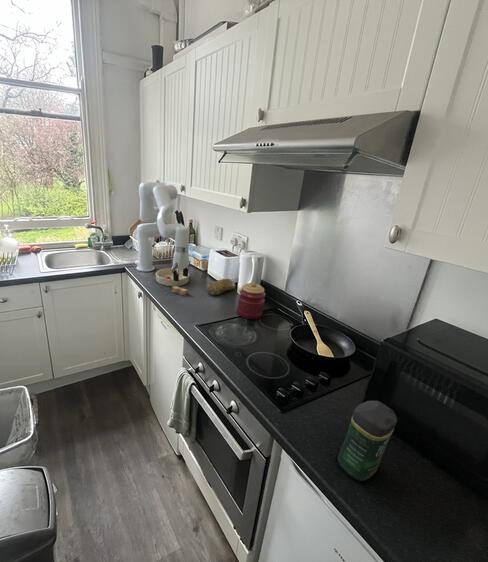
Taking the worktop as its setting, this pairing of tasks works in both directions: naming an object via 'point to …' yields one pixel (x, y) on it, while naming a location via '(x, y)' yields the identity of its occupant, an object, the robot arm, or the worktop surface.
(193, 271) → the worktop surface
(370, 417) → the coffee jar
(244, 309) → the kitchen canister
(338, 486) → the worktop surface
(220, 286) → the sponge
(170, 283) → the bowl
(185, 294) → the stick
